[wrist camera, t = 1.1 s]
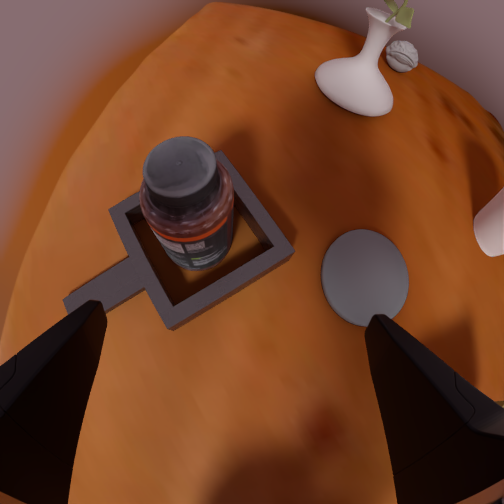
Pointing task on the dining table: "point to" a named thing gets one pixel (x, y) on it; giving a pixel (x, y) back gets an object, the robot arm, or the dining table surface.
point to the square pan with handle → (146, 278)
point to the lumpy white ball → (401, 56)
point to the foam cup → (491, 226)
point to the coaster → (364, 277)
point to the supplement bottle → (188, 202)
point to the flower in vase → (365, 66)
